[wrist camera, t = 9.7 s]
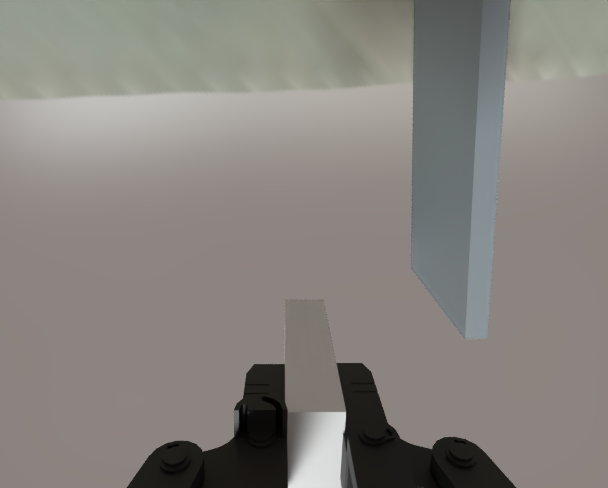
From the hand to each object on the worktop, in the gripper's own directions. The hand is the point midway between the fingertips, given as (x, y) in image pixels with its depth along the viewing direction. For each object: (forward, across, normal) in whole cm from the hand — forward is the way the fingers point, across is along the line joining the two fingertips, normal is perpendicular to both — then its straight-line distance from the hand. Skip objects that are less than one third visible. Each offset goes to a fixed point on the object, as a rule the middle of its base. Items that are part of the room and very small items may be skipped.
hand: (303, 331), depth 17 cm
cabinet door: (+16, -10, -7) cm, 20 cm away
